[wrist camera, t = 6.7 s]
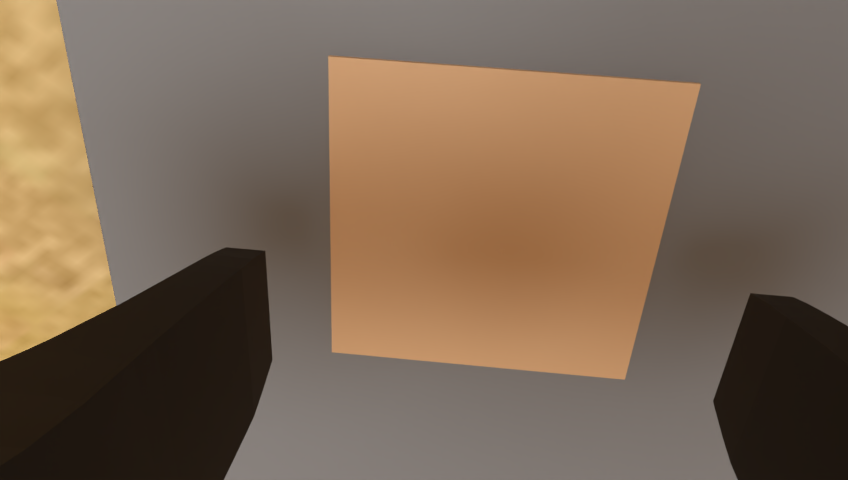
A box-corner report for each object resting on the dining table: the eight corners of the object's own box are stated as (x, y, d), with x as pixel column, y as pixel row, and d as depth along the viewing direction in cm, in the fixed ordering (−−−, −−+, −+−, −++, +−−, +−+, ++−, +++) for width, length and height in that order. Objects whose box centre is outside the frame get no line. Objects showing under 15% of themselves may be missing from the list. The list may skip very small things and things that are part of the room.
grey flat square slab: (994, -212, 11) (1162, -252, 8) (736, 455, 19) (781, 549, 16) (104, -260, 12) (-10, -312, 9) (196, 402, 19) (149, 484, 16)
